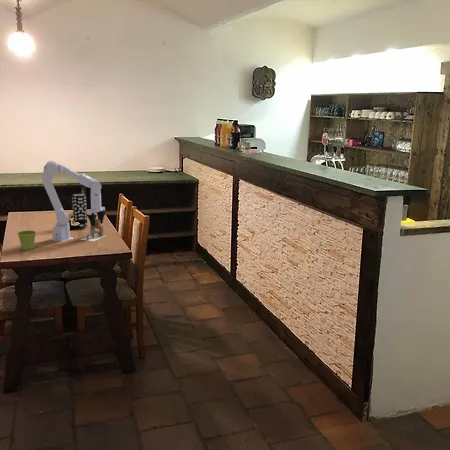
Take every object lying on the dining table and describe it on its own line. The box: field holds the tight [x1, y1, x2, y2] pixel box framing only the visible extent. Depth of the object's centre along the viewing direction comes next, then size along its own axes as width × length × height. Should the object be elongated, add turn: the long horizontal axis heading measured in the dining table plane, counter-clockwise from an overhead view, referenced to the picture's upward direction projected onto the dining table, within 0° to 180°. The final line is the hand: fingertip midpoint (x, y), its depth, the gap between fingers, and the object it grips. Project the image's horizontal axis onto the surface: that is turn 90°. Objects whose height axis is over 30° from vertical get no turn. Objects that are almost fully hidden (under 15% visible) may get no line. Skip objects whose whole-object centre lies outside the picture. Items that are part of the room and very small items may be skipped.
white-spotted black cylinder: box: [71, 193, 88, 229], centre depth 319 cm, size 8×8×20 cm
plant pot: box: [16, 230, 37, 251], centre depth 270 cm, size 9×9×9 cm
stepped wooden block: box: [89, 218, 104, 237], centre depth 297 cm, size 2×7×9 cm, turn 70°
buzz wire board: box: [80, 229, 104, 242], centre depth 293 cm, size 13×9×5 cm
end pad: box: [90, 233, 106, 239], centre depth 297 cm, size 4×8×1 cm, turn 70°
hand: (96, 224), depth 296 cm, fingers open, 7 cm apart
